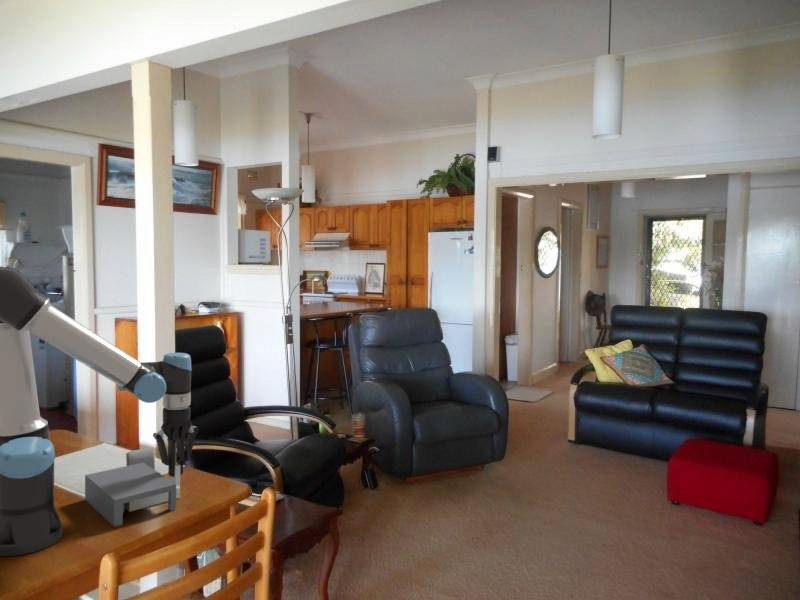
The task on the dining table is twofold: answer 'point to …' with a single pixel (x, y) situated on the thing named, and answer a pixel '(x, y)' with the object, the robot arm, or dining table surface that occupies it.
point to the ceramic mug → (141, 457)
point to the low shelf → (125, 489)
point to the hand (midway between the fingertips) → (175, 486)
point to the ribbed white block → (149, 501)
